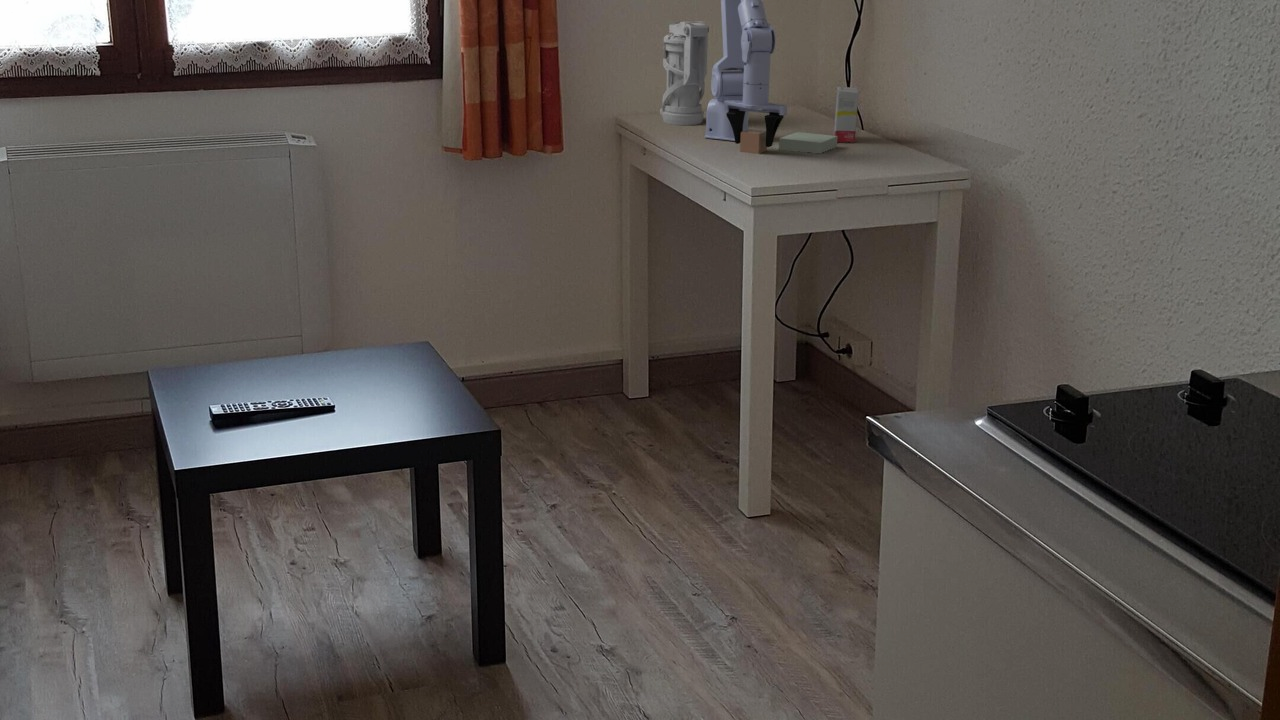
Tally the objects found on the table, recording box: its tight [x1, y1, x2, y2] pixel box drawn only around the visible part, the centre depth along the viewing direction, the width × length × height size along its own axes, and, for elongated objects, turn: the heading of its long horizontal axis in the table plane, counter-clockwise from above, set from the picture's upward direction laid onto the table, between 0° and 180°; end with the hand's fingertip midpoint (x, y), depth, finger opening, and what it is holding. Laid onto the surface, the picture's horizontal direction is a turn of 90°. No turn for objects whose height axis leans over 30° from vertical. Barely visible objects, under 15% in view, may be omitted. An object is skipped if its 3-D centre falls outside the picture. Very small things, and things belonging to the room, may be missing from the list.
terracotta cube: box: [739, 128, 768, 155], centre depth 303 cm, size 4×4×4 cm
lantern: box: [659, 20, 710, 126], centre depth 335 cm, size 13×10×25 cm
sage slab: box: [778, 131, 838, 154], centre depth 308 cm, size 10×10×2 cm
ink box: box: [833, 86, 859, 144], centre depth 317 cm, size 9×5×12 cm, turn 173°
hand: (753, 144), depth 304 cm, fingers open, 7 cm apart
